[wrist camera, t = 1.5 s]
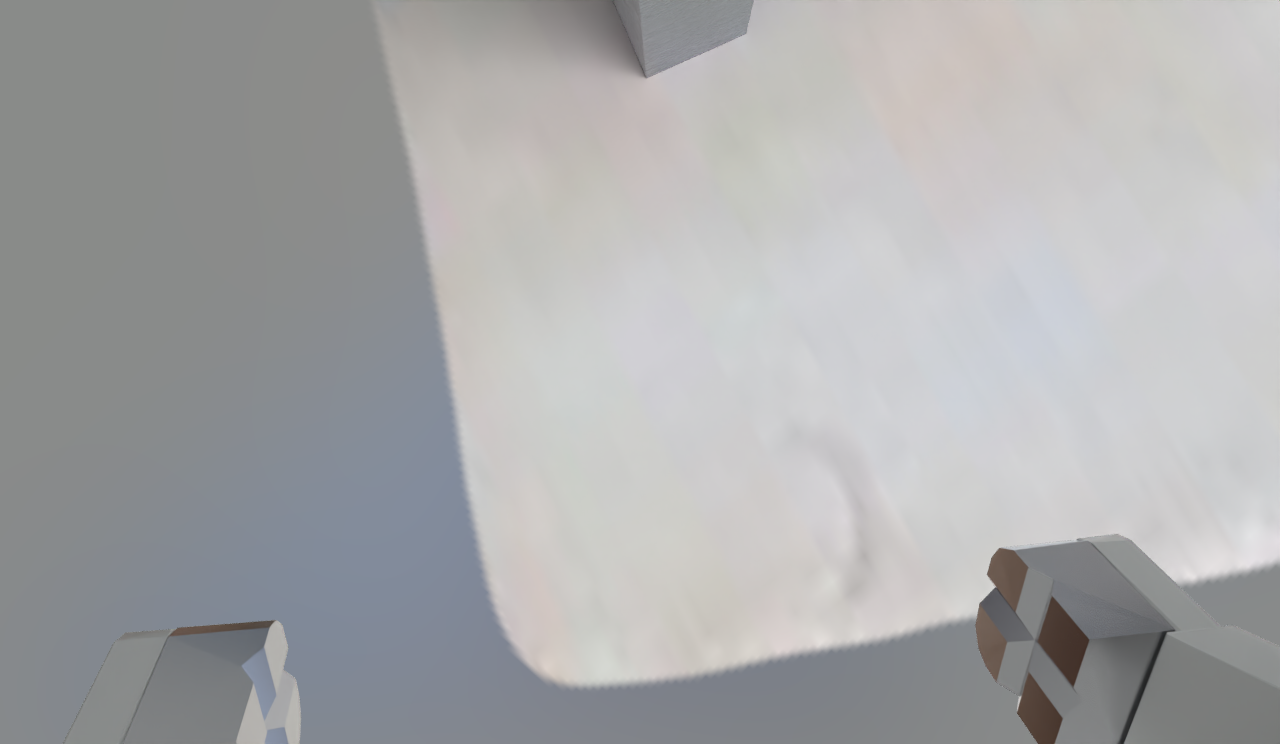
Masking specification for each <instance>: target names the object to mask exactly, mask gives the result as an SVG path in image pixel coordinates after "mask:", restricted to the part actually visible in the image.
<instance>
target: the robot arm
mask: <svg viewBox="0 0 1280 744" xmlns="http://www.w3.org/2000/svg"><path fill="white" fill-rule="evenodd" d="M987 575H988V577H989V579H990V580H991V582H992V583H993V585H994V586H995V588H994V589H993V590H992V591H991V592H990V593H989V594H988V595H987V596H986V598H985V599H984V600H983V601H982V602H981V603H980V604H979V609H978V614H977V619H976V624H975V627H976V634H977V642H978V649H979V651H980V653H981V656H982V659H983V661H984V663H985V666H986V667H987V669H988V670H989V672H990V674H991V675H992V677H993V678H994V680H995V681H996V683H998V684H999V685H1001V686H1003V687H1005V688H1006V689H1008V690H1009V691H1011V692H1013V693H1014V694H1016V695H1018V696H1019V699H1018V707H1017V714H1018V715H1019V717H1020V718H1021V720H1022V721H1023V723H1024V724H1025V726H1026V727H1027V729H1028V730H1029V732H1030V733H1031V735H1032V736H1033V738H1034V739H1035V740H1036V742H1037V743H1038V744H1280V646H1278V645H1276V644H1274V643H1272V642H1270V641H1267V640H1265V639H1263V638H1261V637H1258V636H1256V635H1254V634H1252V633H1250V632H1247V631H1245V630H1243V629H1241V628H1239V627H1236V626H1234V625H1229V626H1220V625H1219V624H1218V623H1217V622H1216V621H1215V620H1214V619H1213V618H1212V617H1211V616H1210V615H1209V614H1208V613H1207V612H1206V611H1204V610H1203V609H1202V608H1201V607H1200V606H1199V605H1198V604H1197V603H1196V602H1195V601H1194V600H1193V599H1192V598H1191V597H1190V596H1189V595H1188V594H1187V593H1186V592H1185V591H1184V590H1183V589H1181V588H1180V587H1179V586H1178V585H1177V584H1176V583H1175V582H1174V581H1173V580H1172V579H1171V578H1170V577H1169V576H1168V575H1167V574H1166V573H1165V572H1164V571H1163V570H1162V569H1160V568H1159V567H1158V566H1157V565H1156V564H1155V563H1154V562H1153V561H1152V560H1151V559H1150V558H1149V557H1148V556H1147V555H1146V554H1145V553H1144V552H1143V551H1142V550H1141V549H1140V548H1138V547H1137V546H1136V545H1135V544H1134V543H1133V542H1132V541H1131V540H1129V539H1128V538H1125V537H1123V536H1121V535H1118V534H1113V535H1104V536H1096V537H1088V538H1079V539H1077V540H1067V541H1058V542H1049V543H1039V544H1030V545H1021V546H1011V547H1002V548H999V549H998V550H997V551H996V553H995V554H994V555H993V556H992V558H991V561H990V565H989V569H988V572H987ZM287 651H288V645H287V641H286V637H285V634H284V630H283V626H282V624H281V623H279V622H278V621H276V620H271V621H258V622H246V623H232V624H220V625H207V626H194V627H181V628H177V629H168V630H155V631H142V632H128V633H125V634H124V635H122V636H121V637H120V638H119V639H117V640H116V641H115V642H114V644H113V645H112V647H111V649H110V651H109V653H108V655H107V657H106V659H105V661H104V663H103V665H102V667H101V668H100V670H99V672H98V675H97V677H96V678H95V680H94V683H93V685H92V686H91V688H90V690H89V692H88V694H87V696H86V698H85V701H84V702H83V704H82V706H81V708H80V710H79V712H78V714H77V716H76V718H75V720H74V722H73V724H72V726H71V728H70V730H69V732H68V734H67V736H66V738H65V740H64V742H63V744H299V742H300V725H301V712H300V700H299V693H298V688H297V683H296V679H295V678H294V677H293V676H291V675H290V674H289V673H287V672H286V671H285V670H283V667H284V663H285V659H286V655H287Z"/></svg>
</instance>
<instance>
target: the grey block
mask: <svg viewBox="0 0 1280 744" xmlns="http://www.w3.org/2000/svg"><path fill="white" fill-rule="evenodd" d="M613 2H614V4H615V7H616V9H617V11H618V14H619V16H620V18H621V21H622V23H623V25H624V28H625V30H626V32H627V34H628V37H629V39H630V41H631V44H632V46H633V48H634V51H635V53H636V55H637V58H638V60H639V62H640V65H641V67H642V69H643V71H644V74H645V76H646V78H648V77H650V76H652V75H655V74H657V73H659V72H661V71H664V70H666V69H668V68H670V67H673V66H675V65H677V64H679V63H682V62H684V61H686V60H688V59H691V58H693V57H695V56H697V55H700V54H702V53H704V52H706V51H708V50H711V49H713V48H715V47H717V46H720V45H722V44H724V43H726V42H729V41H731V40H733V39H735V38H738V37H740V36H742V35H744V34H746V31H747V27H748V22H749V18H750V14H751V9H752V5H753V0H613Z"/></svg>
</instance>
